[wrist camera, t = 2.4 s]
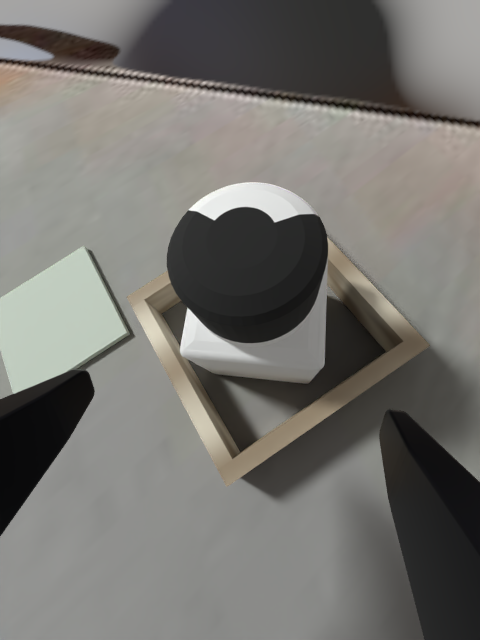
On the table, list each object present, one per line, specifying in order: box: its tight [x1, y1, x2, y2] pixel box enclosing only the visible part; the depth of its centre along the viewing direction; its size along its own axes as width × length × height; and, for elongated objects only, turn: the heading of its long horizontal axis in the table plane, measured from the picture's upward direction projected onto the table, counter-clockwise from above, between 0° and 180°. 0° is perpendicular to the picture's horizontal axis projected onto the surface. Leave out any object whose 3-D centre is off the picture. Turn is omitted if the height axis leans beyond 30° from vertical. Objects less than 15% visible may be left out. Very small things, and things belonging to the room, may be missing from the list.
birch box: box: [127, 237, 430, 486], centre depth 19 cm, size 14×14×3 cm
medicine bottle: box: [167, 182, 328, 384], centre depth 15 cm, size 7×7×12 cm
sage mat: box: [0, 246, 130, 394], centre depth 24 cm, size 10×10×1 cm
